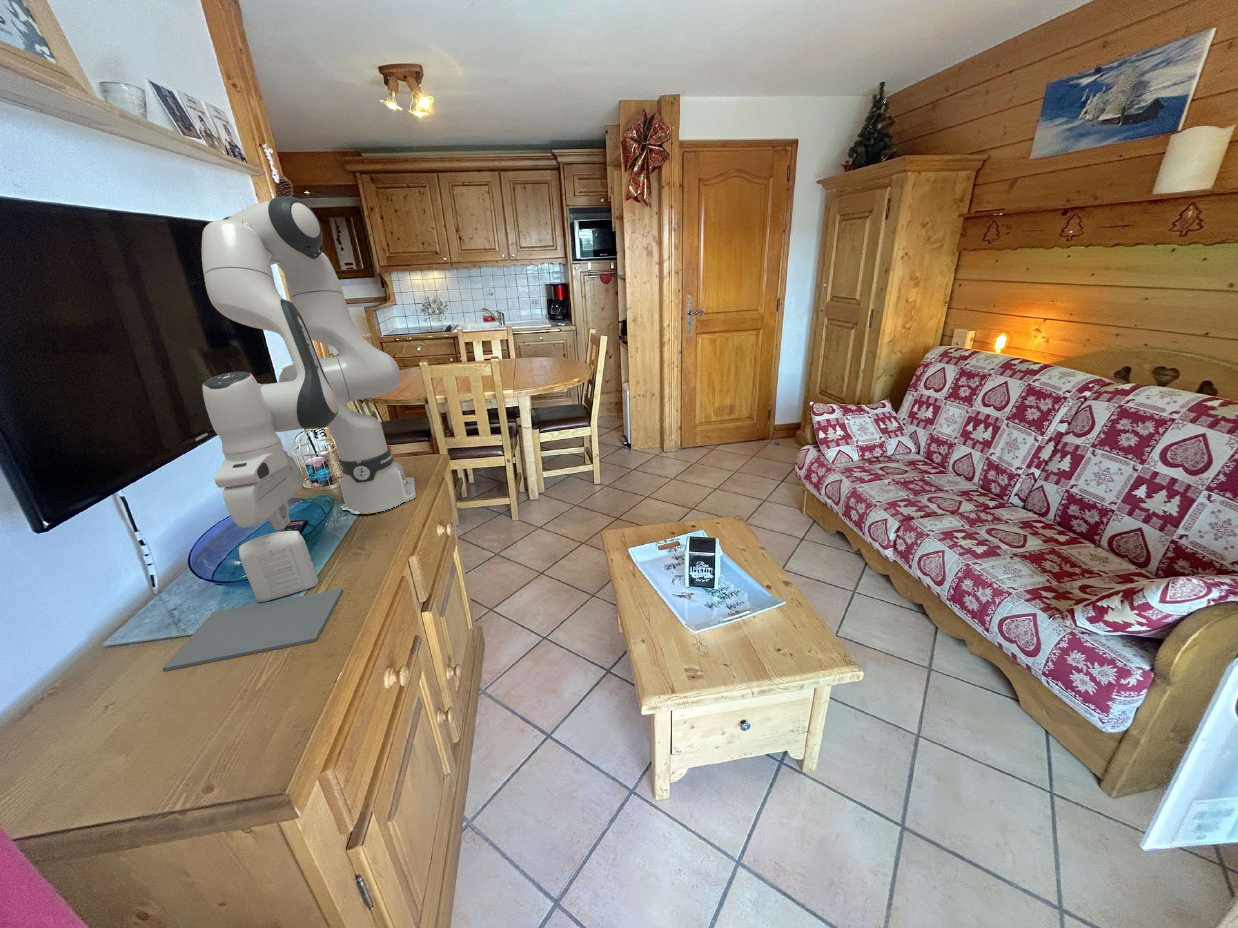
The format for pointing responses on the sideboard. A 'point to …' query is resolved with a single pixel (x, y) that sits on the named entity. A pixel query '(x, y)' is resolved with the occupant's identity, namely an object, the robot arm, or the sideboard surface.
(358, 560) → the sideboard surface
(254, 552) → the photo printer
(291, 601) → the mat
